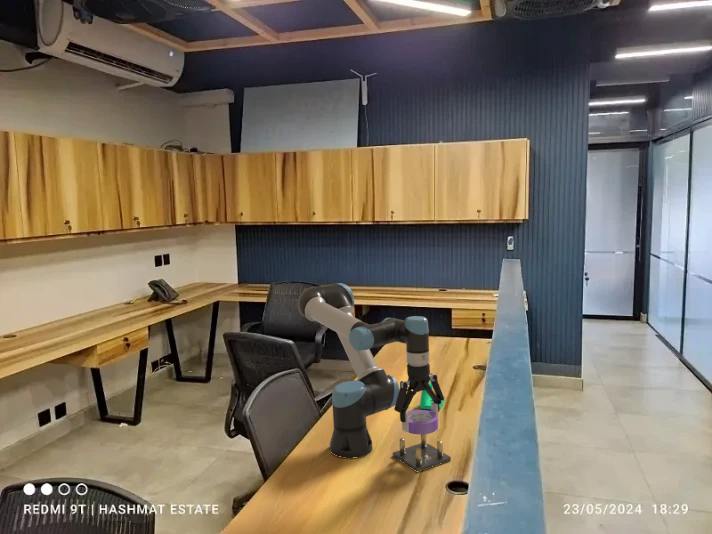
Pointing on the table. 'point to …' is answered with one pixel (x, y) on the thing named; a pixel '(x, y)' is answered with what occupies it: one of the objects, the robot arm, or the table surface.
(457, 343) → the table surface
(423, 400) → the camera mount
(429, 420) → the masking tape
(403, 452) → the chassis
